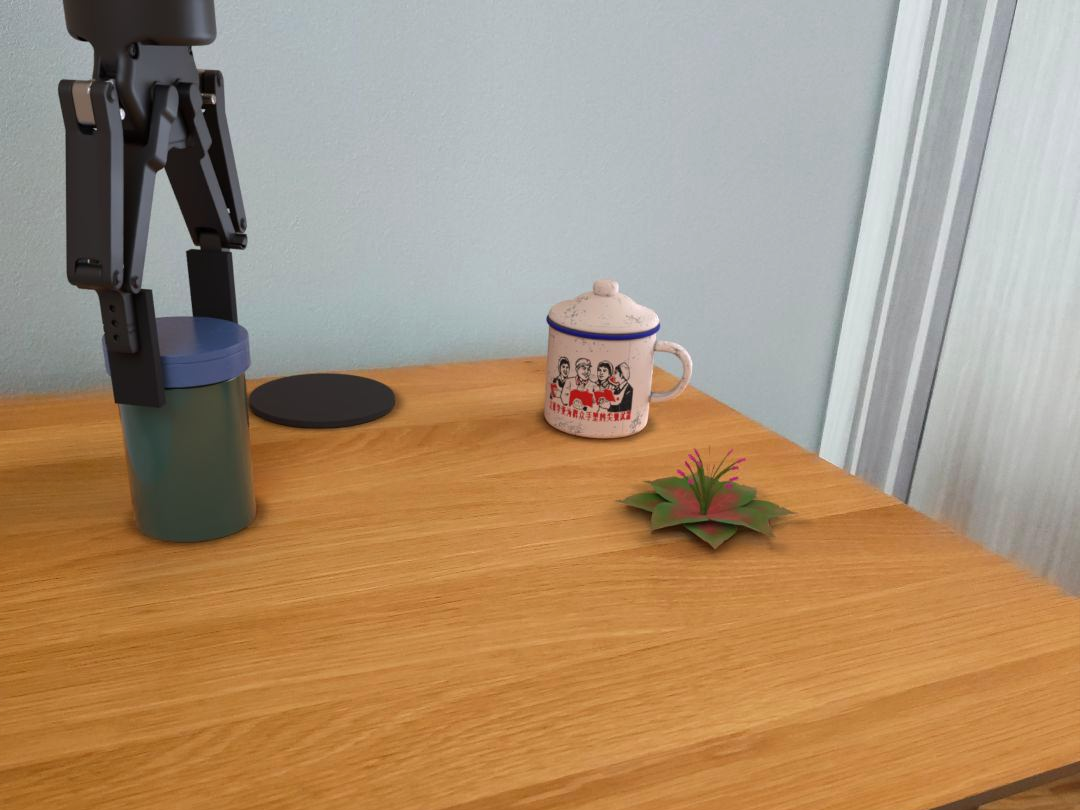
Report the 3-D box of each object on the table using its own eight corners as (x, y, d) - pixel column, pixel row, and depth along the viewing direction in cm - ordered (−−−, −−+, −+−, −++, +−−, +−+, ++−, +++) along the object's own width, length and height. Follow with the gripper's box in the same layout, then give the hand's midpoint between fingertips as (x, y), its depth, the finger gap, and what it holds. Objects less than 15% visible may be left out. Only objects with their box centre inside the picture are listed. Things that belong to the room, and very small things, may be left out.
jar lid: (77, 363, 64) (72, 332, 63) (197, 337, 70) (194, 308, 69) (158, 398, 59) (154, 365, 58) (279, 366, 65) (277, 336, 64)
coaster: (219, 401, 88) (218, 394, 88) (330, 370, 97) (330, 364, 96) (314, 440, 82) (313, 432, 81) (424, 403, 90) (424, 396, 90)
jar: (110, 516, 68) (84, 342, 63) (210, 482, 74) (194, 320, 69) (179, 554, 64) (157, 372, 59) (280, 516, 70) (268, 346, 64)
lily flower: (581, 508, 73) (585, 446, 71) (694, 467, 80) (701, 410, 78) (717, 575, 65) (726, 508, 63) (828, 523, 73) (839, 462, 71)
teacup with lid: (529, 432, 85) (536, 288, 80) (553, 397, 93) (561, 263, 88) (678, 452, 83) (695, 305, 78) (690, 414, 91) (706, 278, 86)
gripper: (168, -35, 65) (204, 324, 75) (-78, -57, 45) (16, 433, 55) (285, -30, 64) (306, 333, 74) (86, -50, 44) (151, 448, 54)
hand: (182, 376), depth 65 cm, fingers open, 10 cm apart
